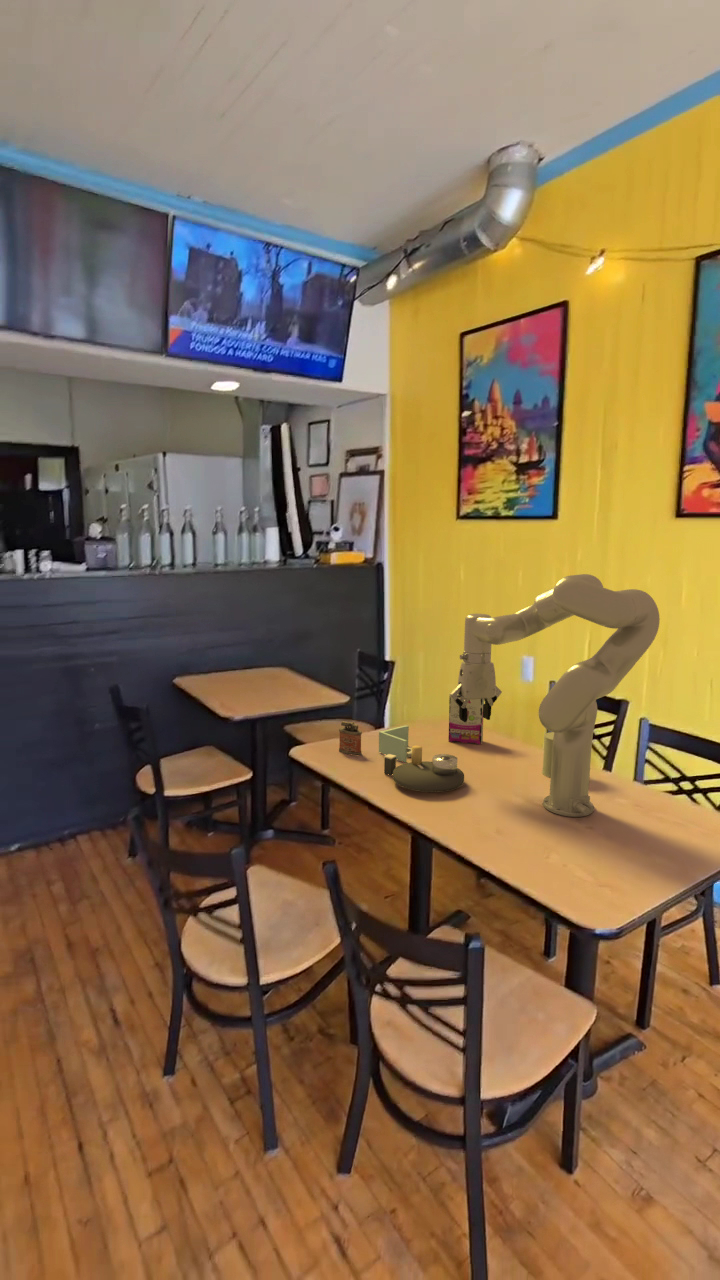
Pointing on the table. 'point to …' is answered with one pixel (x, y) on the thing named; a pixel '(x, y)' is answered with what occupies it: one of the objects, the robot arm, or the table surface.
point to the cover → (444, 765)
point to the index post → (389, 764)
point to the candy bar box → (471, 728)
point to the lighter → (350, 739)
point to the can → (547, 754)
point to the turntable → (424, 775)
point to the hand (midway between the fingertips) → (474, 719)
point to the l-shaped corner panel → (395, 742)
